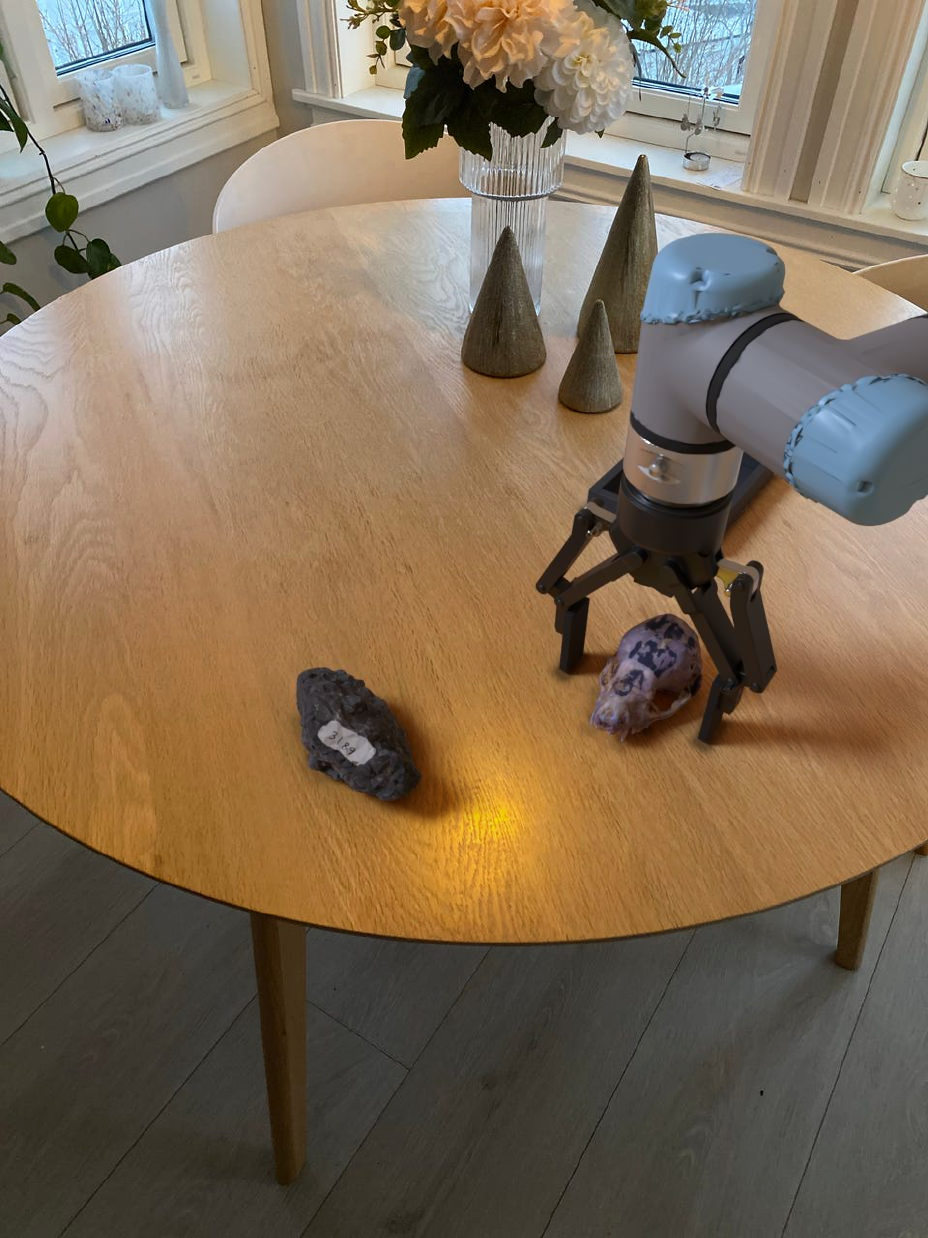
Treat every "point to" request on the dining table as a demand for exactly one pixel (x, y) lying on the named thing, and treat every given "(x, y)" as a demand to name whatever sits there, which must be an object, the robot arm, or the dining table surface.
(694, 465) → the robot arm
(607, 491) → the tray
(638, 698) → the skull
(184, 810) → the dining table surface
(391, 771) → the rock
